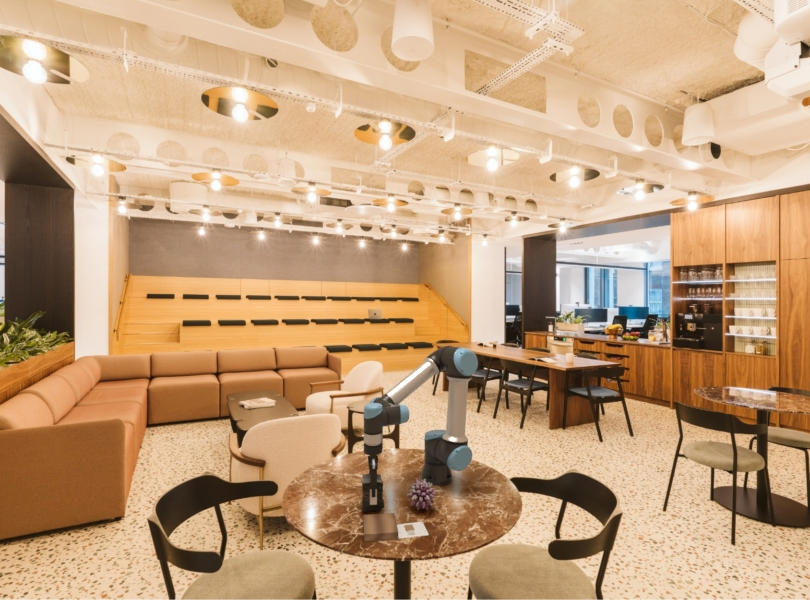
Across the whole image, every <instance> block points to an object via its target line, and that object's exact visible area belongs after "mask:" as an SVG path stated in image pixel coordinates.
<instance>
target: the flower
mask: <svg viewBox="0 0 810 600" xmlns="http://www.w3.org/2000/svg"><path fill="white" fill-rule="evenodd" d="M415 481H416V482H412V484H410V485H409V487H410V489H409V490H408V493H407V497H410V498H408V501H411V503H410V506H413V507H416V508H417V511H419V510H422V509H423V510H424V509H425V510H426V511H427V510H429V506H430V507H431V506H432V505H433V504H435V501H434V500H433V499H436V496H435V495H437V493H436V492H434V491H436V489H435V488H432V487H433V484H432V483H431V484H430V482H429V483H428V484H427V482H426V479H424V481H423V480H421V479H420V480H418V479H417V478H416V479H415Z"/></svg>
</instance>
